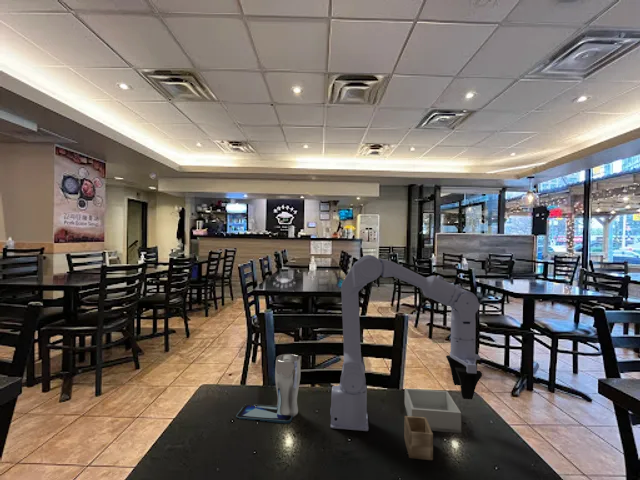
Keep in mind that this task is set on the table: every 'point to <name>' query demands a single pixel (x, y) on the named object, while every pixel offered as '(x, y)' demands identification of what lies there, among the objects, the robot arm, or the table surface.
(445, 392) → the storage crate
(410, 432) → the wood crate
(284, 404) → the beer glass
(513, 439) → the table surface
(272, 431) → the table surface
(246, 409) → the smartphone
